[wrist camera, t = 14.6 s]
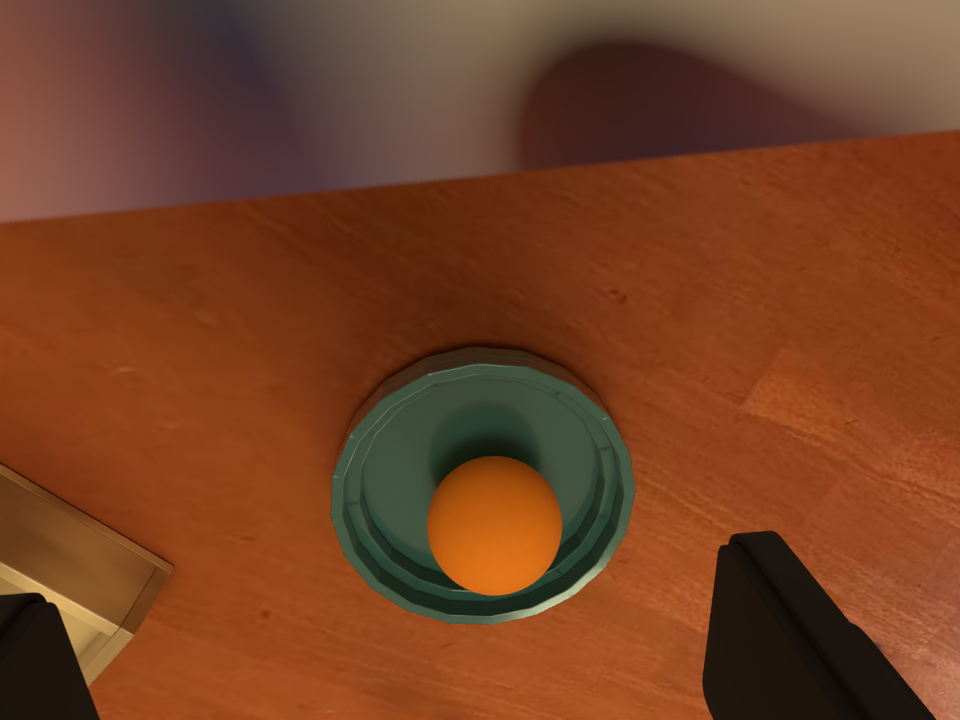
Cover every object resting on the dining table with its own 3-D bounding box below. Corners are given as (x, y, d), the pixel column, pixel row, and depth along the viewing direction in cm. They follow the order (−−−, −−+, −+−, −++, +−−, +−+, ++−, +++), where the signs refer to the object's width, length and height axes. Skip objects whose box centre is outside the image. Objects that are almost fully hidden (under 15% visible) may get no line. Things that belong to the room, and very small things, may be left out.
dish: (281, 491, 34) (268, 522, 32) (470, 283, 31) (473, 298, 28) (489, 630, 39) (493, 667, 36) (675, 461, 35) (695, 488, 33)
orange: (394, 494, 34) (403, 591, 28) (479, 408, 32) (507, 491, 26) (484, 547, 36) (510, 645, 31) (565, 470, 35) (609, 557, 29)
